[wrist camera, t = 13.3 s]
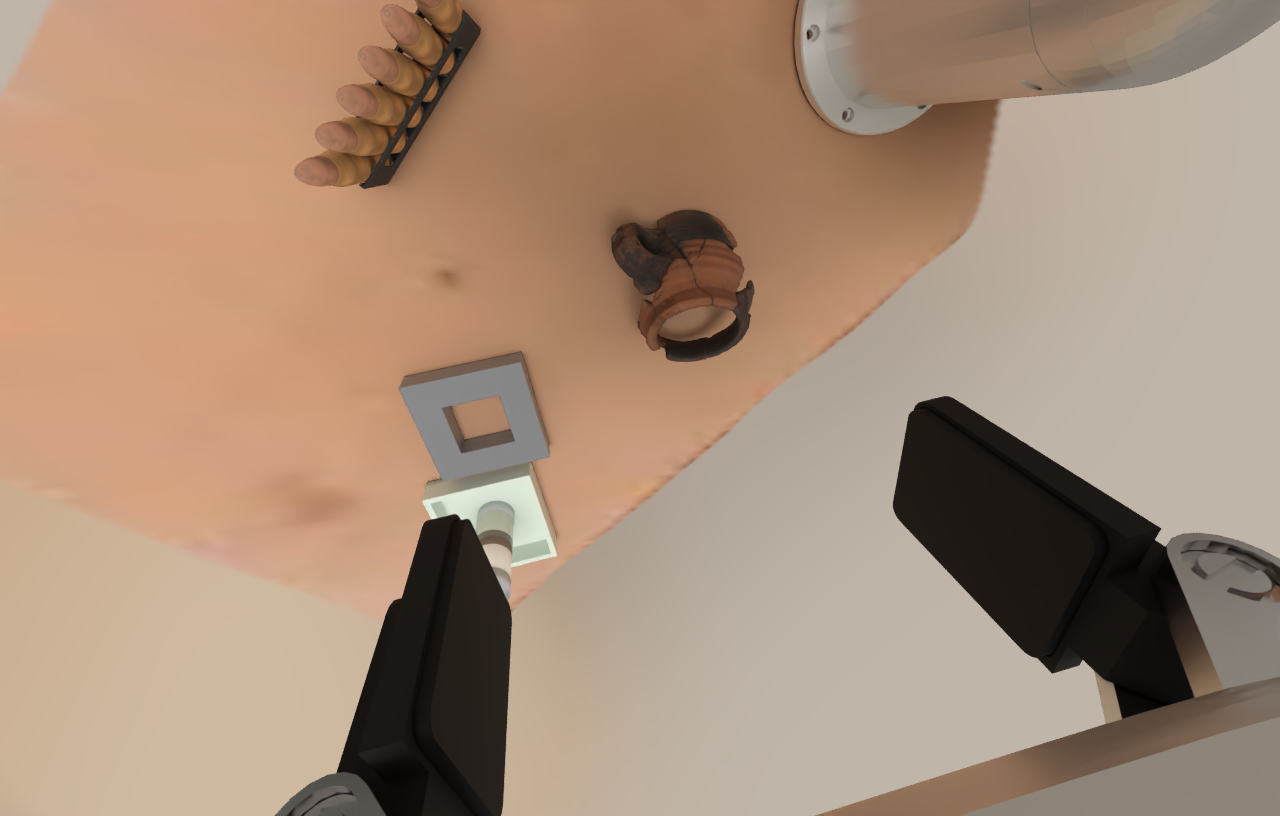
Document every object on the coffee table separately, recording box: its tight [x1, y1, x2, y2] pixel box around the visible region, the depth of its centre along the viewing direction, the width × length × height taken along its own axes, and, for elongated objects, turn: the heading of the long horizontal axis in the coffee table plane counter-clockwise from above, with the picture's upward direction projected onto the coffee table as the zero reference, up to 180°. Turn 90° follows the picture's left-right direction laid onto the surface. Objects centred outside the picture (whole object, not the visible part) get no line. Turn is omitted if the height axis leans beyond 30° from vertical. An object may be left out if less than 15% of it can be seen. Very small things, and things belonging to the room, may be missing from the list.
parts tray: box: [422, 462, 557, 567], centre depth 43 cm, size 9×10×2 cm
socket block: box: [398, 352, 550, 482], centre depth 38 cm, size 9×9×2 cm
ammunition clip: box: [294, 0, 480, 189], centre depth 23 cm, size 11×2×12 cm, turn 138°
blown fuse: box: [476, 501, 515, 601], centre depth 40 cm, size 3×3×9 cm
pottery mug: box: [611, 211, 754, 362], centre depth 34 cm, size 12×10×8 cm
